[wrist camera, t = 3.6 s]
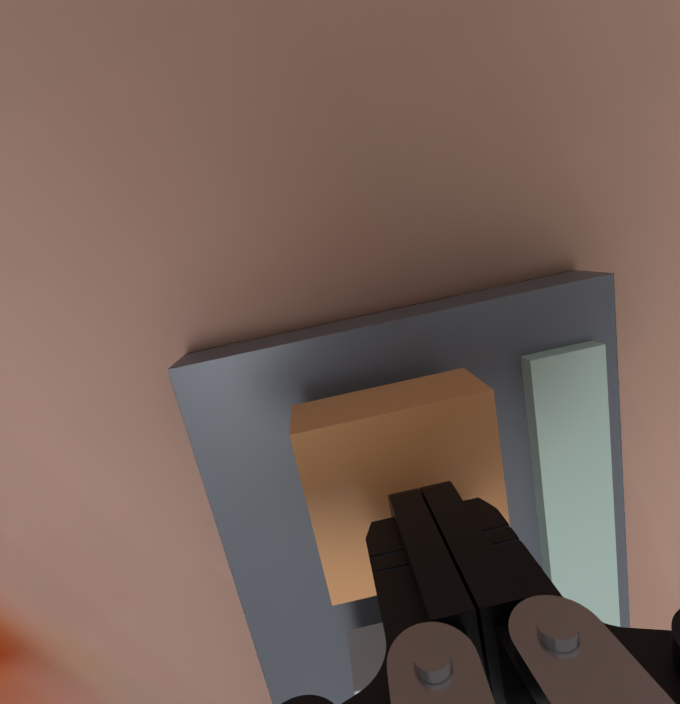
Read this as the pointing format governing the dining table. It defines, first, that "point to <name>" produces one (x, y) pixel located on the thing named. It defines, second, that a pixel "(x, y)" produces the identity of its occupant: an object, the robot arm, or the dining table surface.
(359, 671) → the key grey
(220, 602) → the dining table surface
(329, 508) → the key orange
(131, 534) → the dining table surface
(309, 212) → the dining table surface
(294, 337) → the keypad board
